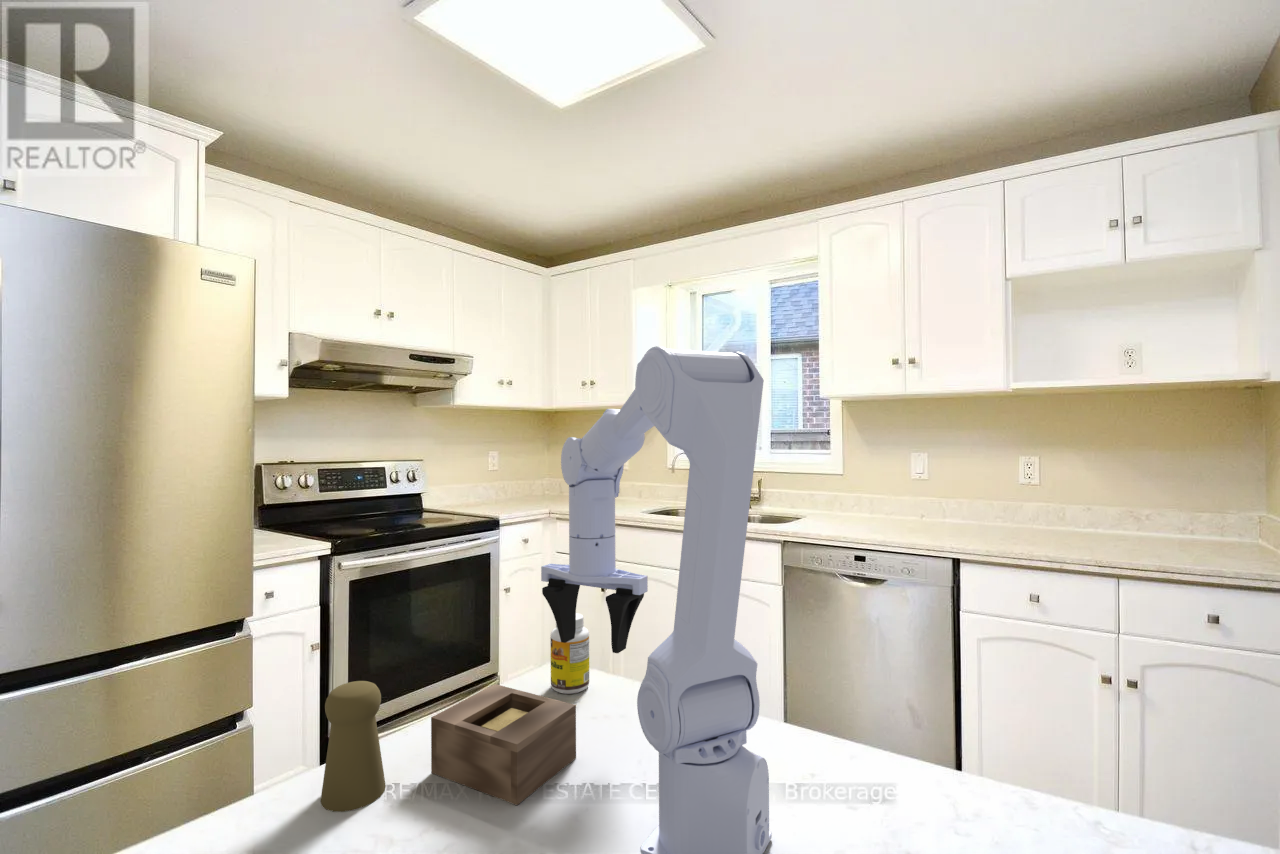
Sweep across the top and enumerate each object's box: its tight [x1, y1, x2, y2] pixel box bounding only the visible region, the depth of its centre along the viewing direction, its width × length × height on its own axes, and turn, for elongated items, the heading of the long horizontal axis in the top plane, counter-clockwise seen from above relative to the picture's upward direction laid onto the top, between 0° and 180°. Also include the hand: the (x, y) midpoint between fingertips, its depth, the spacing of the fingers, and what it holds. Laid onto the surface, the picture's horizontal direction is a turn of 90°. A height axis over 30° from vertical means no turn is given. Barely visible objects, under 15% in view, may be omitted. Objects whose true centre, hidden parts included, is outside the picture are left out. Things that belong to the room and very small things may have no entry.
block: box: [481, 708, 528, 732], centre depth 69 cm, size 3×5×5 cm, turn 152°
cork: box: [320, 680, 387, 813], centre depth 63 cm, size 6×6×11 cm
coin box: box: [430, 683, 577, 806], centre depth 68 cm, size 12×10×6 cm
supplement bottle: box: [550, 612, 590, 695], centre depth 89 cm, size 6×6×10 cm
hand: (592, 645), depth 76 cm, fingers open, 7 cm apart
